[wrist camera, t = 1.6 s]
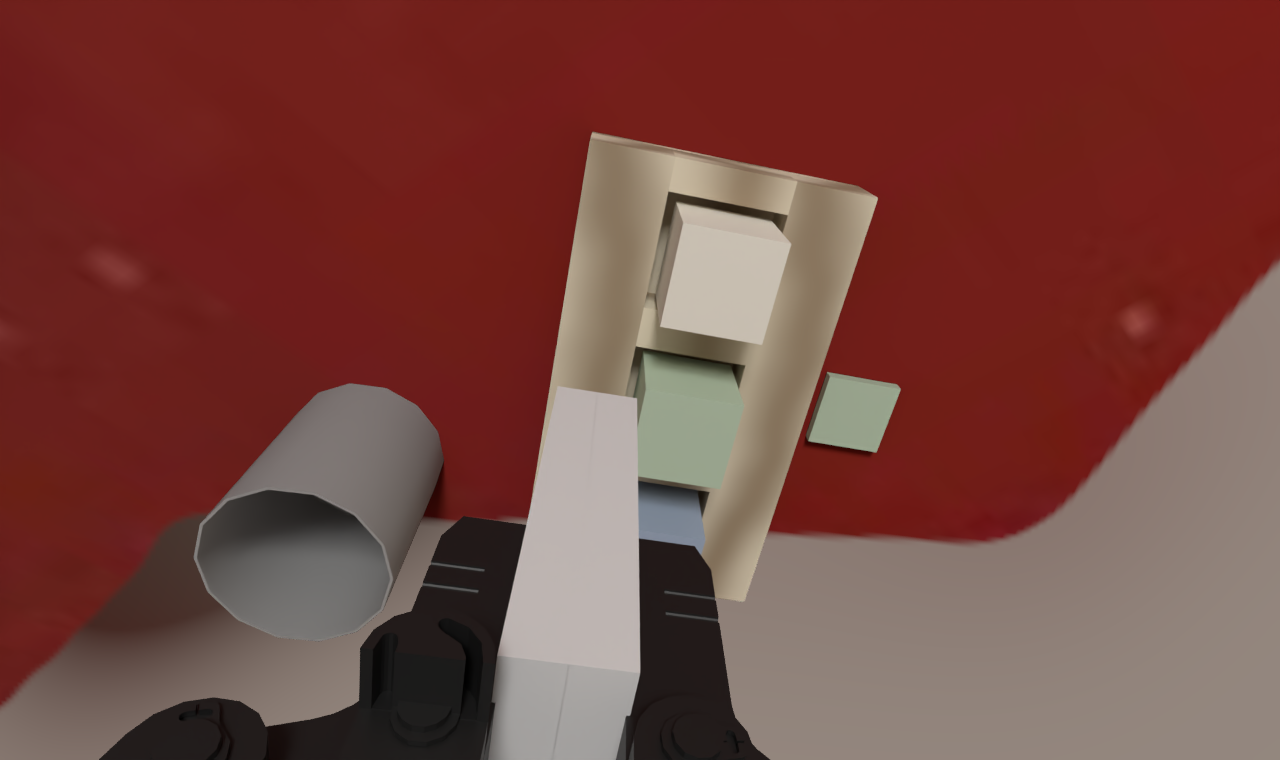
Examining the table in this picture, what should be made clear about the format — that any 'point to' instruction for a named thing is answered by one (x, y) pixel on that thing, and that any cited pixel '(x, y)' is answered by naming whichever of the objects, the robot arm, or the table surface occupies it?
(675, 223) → the button cream
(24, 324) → the table surface
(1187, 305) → the table surface
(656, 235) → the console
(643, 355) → the button sage
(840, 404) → the tile
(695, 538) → the button blue
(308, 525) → the cup
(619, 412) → the robot arm
